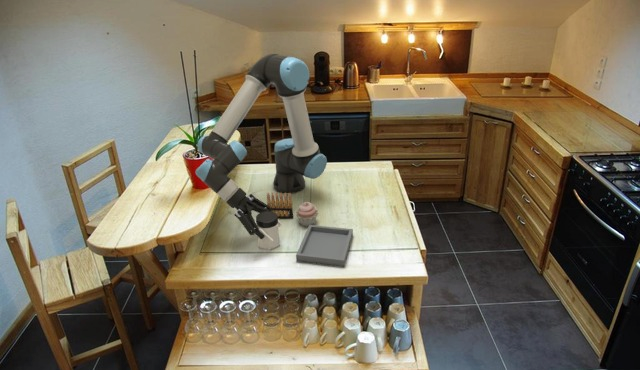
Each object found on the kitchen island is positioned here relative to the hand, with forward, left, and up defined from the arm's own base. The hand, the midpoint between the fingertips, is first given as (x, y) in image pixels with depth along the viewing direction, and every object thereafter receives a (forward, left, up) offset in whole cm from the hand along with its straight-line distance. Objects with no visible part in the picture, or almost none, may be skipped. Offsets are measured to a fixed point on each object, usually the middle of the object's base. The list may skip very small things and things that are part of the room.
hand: (275, 234), depth 173 cm
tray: (-1, +19, -5) cm, 20 cm away
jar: (0, -3, -5) cm, 6 cm away
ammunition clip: (-19, -4, -5) cm, 20 cm away
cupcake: (-17, +8, -5) cm, 19 cm away
